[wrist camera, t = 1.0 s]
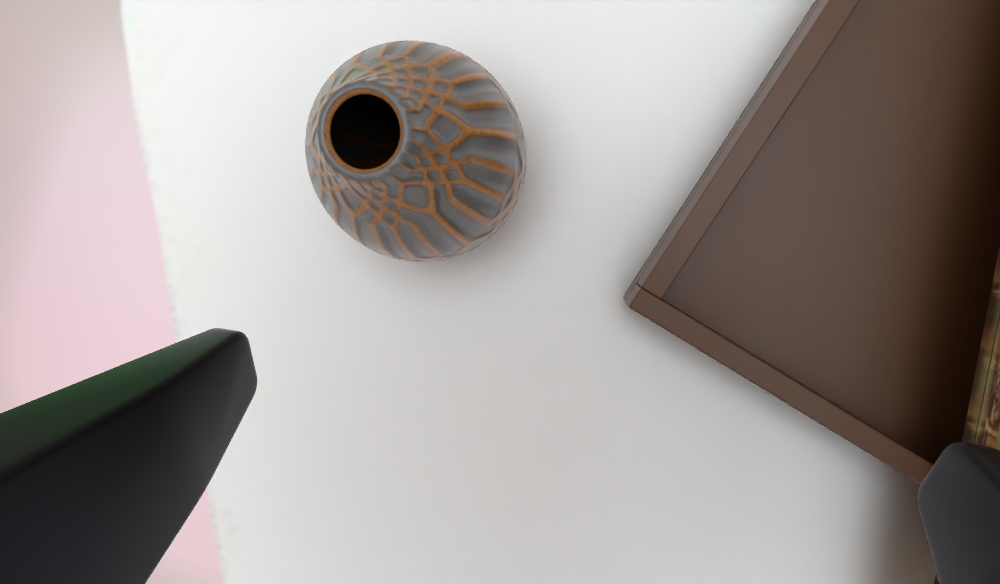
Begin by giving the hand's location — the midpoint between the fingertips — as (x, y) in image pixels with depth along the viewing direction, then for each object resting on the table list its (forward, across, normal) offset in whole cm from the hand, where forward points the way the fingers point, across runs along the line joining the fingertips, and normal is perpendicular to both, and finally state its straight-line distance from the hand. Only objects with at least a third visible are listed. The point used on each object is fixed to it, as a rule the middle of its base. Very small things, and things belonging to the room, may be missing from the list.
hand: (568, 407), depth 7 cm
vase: (+15, +6, +2) cm, 16 cm away
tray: (+15, -13, +2) cm, 20 cm away
